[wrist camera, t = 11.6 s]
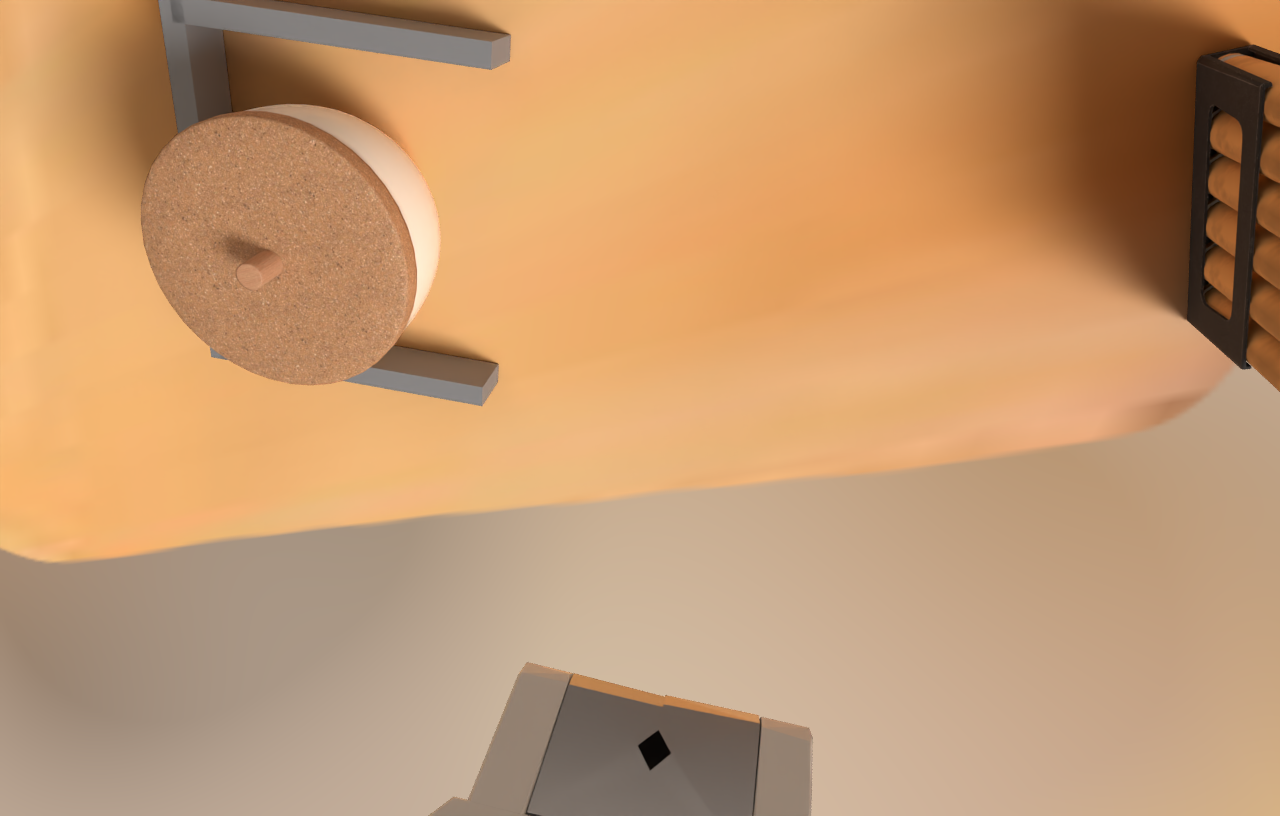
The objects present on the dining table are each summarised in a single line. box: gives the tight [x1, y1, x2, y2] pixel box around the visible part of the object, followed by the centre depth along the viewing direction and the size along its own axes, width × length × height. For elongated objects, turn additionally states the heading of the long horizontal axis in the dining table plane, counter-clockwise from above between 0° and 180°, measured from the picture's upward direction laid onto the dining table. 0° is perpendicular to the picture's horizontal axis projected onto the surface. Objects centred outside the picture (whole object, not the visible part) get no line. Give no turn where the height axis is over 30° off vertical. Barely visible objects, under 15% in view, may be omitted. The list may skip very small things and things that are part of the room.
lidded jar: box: [141, 104, 441, 385], centre depth 35 cm, size 11×11×9 cm
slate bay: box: [158, 0, 511, 406], centre depth 38 cm, size 14×16×2 cm
